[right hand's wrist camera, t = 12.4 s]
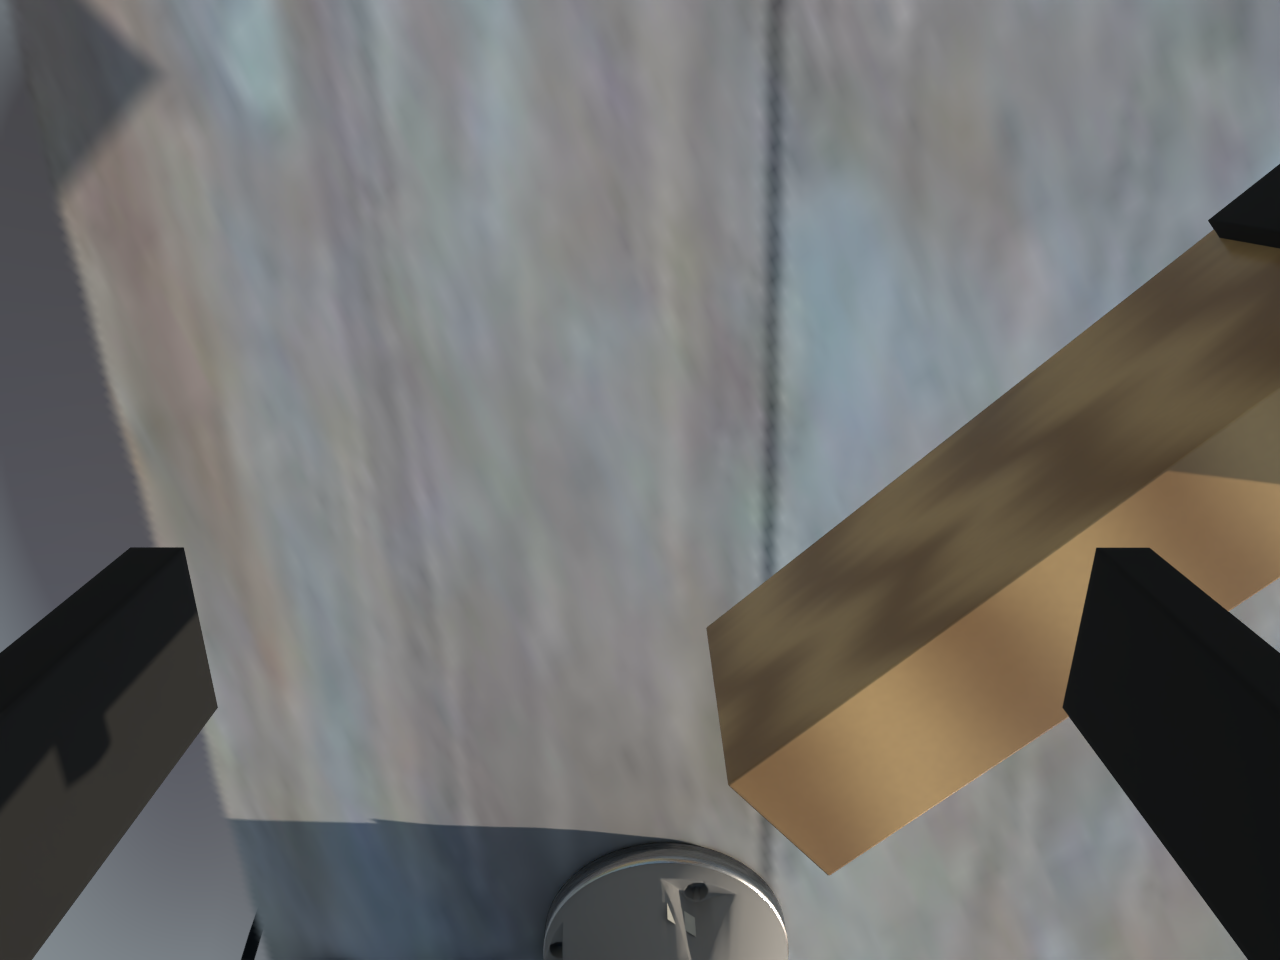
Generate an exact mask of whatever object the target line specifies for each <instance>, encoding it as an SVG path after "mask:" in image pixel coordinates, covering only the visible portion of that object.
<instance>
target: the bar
mask: <svg viewBox="0 0 1280 960" xmlns="http://www.w3.org/2000/svg"><path fill="white" fill-rule="evenodd" d="M1096 548H1151V549H1152V550H1153V551H1154V552H1156V553H1157V554H1158V555H1159V556H1161V557H1162V558H1163V559H1164V560H1165V561H1167V562H1168V563H1169V564H1170V565H1172V566H1173V567H1174V568H1175V569H1177V570H1178V571H1179V572H1180V573H1182V574H1183V575H1184V576H1185V577H1186V578H1188V579H1189V580H1190V581H1191V582H1193V583H1194V584H1195V585H1196V586H1198V587H1199V588H1200V589H1201V590H1202V591H1204V592H1205V593H1206V594H1207V595H1209V596H1210V597H1211V598H1212V599H1214V600H1215V601H1216V602H1217V603H1219V604H1220V605H1221V606H1222V607H1223V608H1225V609H1226V610H1227V611H1230V610H1231V609H1233V608H1234V607H1236V606H1237V605H1239V604H1240V603H1242V602H1243V601H1245V600H1246V599H1248V598H1249V597H1251V596H1252V595H1254V594H1255V593H1257V592H1258V591H1260V590H1262V589H1263V588H1265V587H1266V586H1268V585H1269V584H1271V583H1272V582H1274V581H1275V580H1277V579H1278V578H1280V249H1279V248H1274V247H1268V246H1263V245H1257V244H1252V243H1246V242H1240V241H1235V240H1229V239H1224V238H1219V236H1218V235H1217V233H1216V232H1215V230H1213V231H1211V232H1210V233H1209V234H1207V235H1206V236H1205V237H1204V238H1202V239H1201V240H1200V241H1199V242H1197V243H1196V244H1195V245H1193V246H1192V247H1191V248H1190V249H1188V250H1187V251H1186V252H1185V253H1183V254H1182V255H1181V256H1179V257H1178V258H1177V259H1176V260H1174V261H1173V262H1172V263H1171V264H1169V265H1168V266H1167V267H1165V268H1164V269H1163V270H1162V271H1160V272H1159V273H1158V274H1157V275H1155V276H1154V277H1153V278H1151V279H1150V280H1149V281H1148V282H1146V283H1145V284H1144V285H1143V286H1141V287H1140V288H1139V289H1137V290H1136V291H1135V292H1134V293H1132V294H1131V295H1130V296H1129V297H1127V298H1126V299H1125V300H1123V301H1122V302H1121V303H1120V304H1118V305H1117V306H1116V307H1115V308H1113V309H1112V310H1111V311H1109V312H1108V313H1107V314H1106V315H1104V316H1103V317H1102V318H1100V319H1099V320H1098V321H1097V322H1095V323H1094V324H1093V325H1092V326H1090V327H1089V328H1088V329H1086V330H1085V331H1084V332H1083V333H1081V334H1080V335H1079V336H1078V337H1076V338H1075V339H1074V340H1072V341H1071V342H1070V343H1069V344H1067V345H1066V346H1065V347H1064V348H1062V349H1061V350H1060V351H1058V352H1057V353H1056V354H1055V355H1053V356H1052V357H1051V358H1050V359H1048V360H1047V361H1046V362H1044V363H1043V364H1042V365H1041V366H1039V367H1038V368H1037V369H1036V370H1034V371H1033V372H1032V373H1030V374H1029V375H1028V376H1027V377H1025V378H1024V379H1023V380H1022V381H1020V382H1019V383H1018V384H1016V385H1015V386H1014V387H1013V388H1011V389H1010V390H1009V391H1008V392H1006V393H1005V394H1004V395H1002V396H1001V397H1000V398H999V399H997V400H996V401H995V402H993V403H992V404H991V405H990V406H988V407H987V408H986V409H985V410H983V411H982V412H981V413H979V414H978V415H977V416H976V417H974V418H973V419H972V420H971V421H969V422H968V423H967V424H965V425H964V426H963V427H962V428H960V429H959V430H958V431H957V432H955V433H954V434H953V435H951V436H950V437H949V438H948V439H946V440H945V441H944V442H943V443H941V444H940V445H939V446H937V447H936V448H935V449H934V450H932V451H931V452H930V453H929V454H927V455H926V456H925V457H923V458H922V459H921V460H920V461H918V462H917V463H916V464H915V465H913V466H912V467H911V468H909V469H908V470H907V471H906V472H904V473H903V474H902V475H901V476H899V477H898V478H897V479H895V480H894V481H893V482H892V483H890V484H889V485H888V486H886V487H885V488H884V489H883V490H881V491H880V492H879V493H878V494H876V495H875V496H874V497H872V498H871V499H870V500H869V501H867V502H866V503H865V504H864V505H862V506H861V507H860V508H858V509H857V510H856V511H855V512H853V513H852V514H851V515H850V516H848V517H847V518H846V519H844V520H843V521H842V522H841V523H839V524H838V525H837V526H836V527H834V528H833V529H832V530H830V531H829V532H828V533H827V534H825V535H824V536H823V537H822V538H820V539H819V540H818V541H816V542H815V543H814V544H813V545H811V546H810V547H809V548H808V549H806V550H805V551H804V552H802V553H801V554H800V555H799V556H797V557H796V558H795V559H794V560H792V561H791V562H790V563H788V564H787V565H786V566H785V567H783V568H782V569H781V570H779V571H778V572H777V573H776V574H774V575H773V576H772V577H771V578H769V579H768V580H767V581H765V582H764V583H763V584H762V585H760V586H759V587H758V588H757V589H755V590H754V591H753V592H751V593H750V594H749V595H748V596H746V597H745V598H744V599H743V600H741V601H740V602H739V603H737V604H736V605H735V606H734V607H732V608H731V609H730V610H729V611H727V612H726V613H725V614H723V615H722V616H721V617H720V618H718V619H717V620H716V621H715V622H713V623H712V624H711V625H709V626H708V627H707V636H708V643H709V650H710V657H711V664H712V672H713V679H714V686H715V693H716V700H717V707H718V715H719V722H720V729H721V736H722V743H723V750H724V758H725V765H726V772H727V779H728V785H729V786H730V787H731V788H732V789H733V790H734V791H735V792H737V793H738V794H739V795H740V796H741V797H742V798H743V799H744V800H745V801H746V802H748V803H749V804H750V805H751V806H752V807H753V808H754V809H755V810H756V811H758V812H759V813H760V814H761V815H762V816H763V817H764V818H765V819H766V820H768V821H769V822H770V823H771V824H772V825H773V826H774V827H775V828H776V829H777V830H779V831H780V832H781V833H782V834H783V835H784V836H785V837H786V838H787V839H789V840H790V841H791V842H792V843H793V844H794V845H795V846H796V847H797V848H798V849H800V850H801V851H802V852H803V853H804V854H805V855H806V856H807V857H808V858H810V859H811V860H812V861H813V862H814V863H815V864H816V865H817V866H818V867H820V868H821V869H822V870H823V871H824V872H825V873H826V874H827V875H831V874H832V873H834V872H835V871H837V870H839V869H840V868H842V867H843V866H845V865H846V864H848V863H849V862H851V861H852V860H854V859H855V858H857V857H858V856H860V855H861V854H863V853H864V852H866V851H867V850H869V849H870V848H872V847H873V846H875V845H876V844H878V843H879V842H881V841H882V840H884V839H885V838H887V837H888V836H890V835H891V834H893V833H894V832H896V831H897V830H899V829H900V828H902V827H903V826H905V825H906V824H908V823H910V822H911V821H913V820H914V819H916V818H917V817H919V816H920V815H922V814H923V813H925V812H926V811H928V810H929V809H931V808H932V807H934V806H935V805H937V804H938V803H940V802H941V801H943V800H944V799H946V798H947V797H949V796H950V795H952V794H953V793H955V792H956V791H958V790H959V789H961V788H962V787H964V786H965V785H967V784H968V783H970V782H971V781H973V780H974V779H976V778H977V777H979V776H981V775H982V774H984V773H985V772H987V771H988V770H990V769H991V768H993V767H994V766H996V765H997V764H999V763H1000V762H1002V761H1003V760H1005V759H1006V758H1008V757H1009V756H1011V755H1012V754H1014V753H1015V752H1017V751H1018V750H1020V749H1021V748H1023V747H1024V746H1026V745H1027V744H1029V743H1030V742H1032V741H1033V740H1035V739H1036V738H1038V737H1039V736H1041V735H1042V734H1044V733H1045V732H1047V731H1048V730H1050V729H1052V728H1053V727H1055V726H1056V725H1058V724H1059V723H1061V722H1062V721H1064V720H1065V719H1067V718H1068V717H1069V716H1068V715H1067V713H1066V712H1065V711H1064V709H1063V708H1062V707H1063V702H1064V697H1065V693H1066V688H1067V683H1068V678H1069V674H1070V669H1071V664H1072V660H1073V655H1074V650H1075V645H1076V641H1077V636H1078V631H1079V627H1080V622H1081V617H1082V612H1083V608H1084V603H1085V598H1086V594H1087V589H1088V584H1089V579H1090V575H1091V570H1092V565H1093V561H1094V556H1095V551H1096Z"/></svg>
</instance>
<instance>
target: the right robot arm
mask: <svg viewBox="0 0 1280 960" xmlns="http://www.w3.org/2000/svg"><path fill="white" fill-rule="evenodd" d="M217 708H218V707H217V702H216V697H215V693H214V688H213V683H212V678H211V674H210V669H209V664H208V660H207V655H206V650H205V645H204V641H203V636H202V631H201V627H200V622H199V617H198V612H197V608H196V603H195V598H194V594H193V589H192V584H191V579H190V575H189V570H188V565H187V561H186V556H185V551H184V548H129V549H128V550H127V551H126V552H124V553H123V554H122V555H121V556H119V557H118V558H117V559H116V560H115V561H113V562H112V563H111V564H110V565H108V566H107V567H106V568H105V569H103V570H102V571H101V572H100V573H99V574H97V575H96V576H95V577H94V578H92V579H91V580H90V581H89V582H87V583H86V584H85V585H84V586H82V587H81V588H80V589H79V590H78V591H76V592H75V593H74V594H73V595H71V596H70V597H69V598H68V599H66V600H65V601H64V602H63V603H62V604H60V605H59V606H58V607H57V608H55V609H54V610H53V611H52V612H50V613H49V614H48V615H47V616H45V617H44V618H43V619H42V620H40V621H39V622H38V623H37V624H36V625H34V626H33V627H32V628H31V629H29V630H28V631H27V632H26V633H25V634H23V635H22V636H21V637H20V638H18V639H17V640H16V641H15V642H13V643H12V644H11V645H10V646H8V647H7V648H6V649H5V650H4V651H2V652H1V653H0V960H32V959H33V957H34V956H35V955H36V953H37V952H38V951H39V949H40V948H41V947H42V945H43V944H44V943H45V941H46V940H47V938H48V937H49V936H50V934H51V933H52V932H53V930H54V929H55V928H56V926H57V925H58V924H59V922H60V921H61V919H62V918H63V917H64V915H65V914H66V913H67V911H68V910H69V909H70V907H71V906H72V905H73V903H74V902H75V900H76V899H77V898H78V896H79V895H80V894H81V892H82V891H83V890H84V888H85V887H86V886H87V884H88V883H89V881H90V880H91V879H92V877H93V876H94V875H95V873H96V872H97V870H98V869H99V868H100V867H101V865H102V864H103V862H104V861H105V860H106V858H107V857H108V856H109V854H110V853H111V852H112V850H113V849H114V847H115V846H116V845H117V843H118V842H119V841H120V839H121V838H122V837H123V835H124V834H125V833H126V831H127V830H128V829H129V827H130V826H131V824H132V823H133V822H134V820H135V819H136V818H137V816H138V815H139V814H140V812H141V811H142V810H143V808H144V807H145V806H146V804H147V803H148V801H149V800H150V799H151V797H152V796H153V795H154V793H155V792H156V790H157V789H158V788H159V787H160V785H161V784H162V782H163V781H164V780H165V778H166V777H167V776H168V774H169V773H170V772H171V770H172V769H173V768H174V766H175V765H176V763H177V762H178V761H179V759H180V758H181V757H182V755H183V754H184V753H185V751H186V750H187V749H188V747H189V746H190V744H191V743H192V742H193V740H194V739H195V738H196V736H197V735H198V734H199V732H200V731H201V730H202V728H203V727H204V725H205V724H206V723H207V721H208V720H209V719H210V717H211V716H212V715H213V713H214V712H215V711H216V709H217ZM1062 708H1063V709H1064V711H1065V712H1066V713H1067V715H1068V716H1069V717H1070V719H1071V720H1072V721H1073V723H1074V724H1075V725H1076V727H1077V728H1078V730H1079V731H1080V732H1081V734H1082V735H1083V736H1084V738H1085V739H1086V740H1087V742H1088V743H1089V744H1090V746H1091V747H1092V749H1093V750H1094V751H1095V753H1096V754H1097V755H1098V757H1099V758H1100V759H1101V761H1102V762H1103V763H1104V765H1105V766H1106V768H1107V769H1108V770H1109V772H1110V773H1111V774H1112V776H1113V777H1114V778H1115V780H1116V781H1117V782H1118V784H1119V785H1120V787H1121V788H1122V789H1123V791H1124V792H1125V793H1126V795H1127V796H1128V797H1129V799H1130V800H1131V801H1132V803H1133V804H1134V806H1135V807H1136V808H1137V810H1138V811H1139V812H1140V814H1141V815H1142V816H1143V818H1144V819H1145V820H1146V822H1147V823H1148V825H1149V826H1150V827H1151V829H1152V830H1153V831H1154V833H1155V834H1156V835H1157V837H1158V838H1159V839H1160V841H1161V842H1162V844H1163V845H1164V846H1165V848H1166V849H1167V850H1168V852H1169V853H1170V854H1171V856H1172V857H1173V858H1174V860H1175V861H1176V862H1177V864H1178V865H1179V867H1180V868H1181V869H1182V871H1183V872H1184V873H1185V875H1186V876H1187V877H1188V879H1189V880H1190V881H1191V883H1192V884H1193V886H1194V887H1195V888H1196V890H1197V891H1198V892H1199V894H1200V895H1201V896H1202V898H1203V899H1204V900H1205V902H1206V903H1207V905H1208V906H1209V907H1210V909H1211V910H1212V911H1213V913H1214V914H1215V915H1216V917H1217V918H1218V919H1219V921H1220V922H1221V924H1222V925H1223V926H1224V928H1225V929H1226V930H1227V932H1228V933H1229V934H1230V936H1231V937H1232V938H1233V940H1234V941H1235V943H1236V944H1237V945H1238V947H1239V948H1240V949H1241V951H1242V952H1243V953H1244V955H1245V956H1246V957H1247V959H1248V960H1280V653H1279V652H1278V651H1277V650H1275V649H1274V648H1273V647H1272V646H1270V645H1269V644H1268V643H1267V642H1265V641H1264V640H1263V639H1262V638H1260V637H1259V636H1258V635H1257V634H1256V633H1254V632H1253V631H1252V630H1251V629H1249V628H1248V627H1247V626H1246V625H1244V624H1243V623H1242V622H1241V621H1240V620H1238V619H1237V618H1236V617H1235V616H1233V615H1232V614H1231V613H1230V612H1228V611H1227V610H1226V609H1225V608H1223V607H1222V606H1221V605H1220V604H1219V603H1217V602H1216V601H1215V600H1214V599H1212V598H1211V597H1210V596H1209V595H1207V594H1206V593H1205V592H1204V591H1202V590H1201V589H1200V588H1199V587H1198V586H1196V585H1195V584H1194V583H1193V582H1191V581H1190V580H1189V579H1188V578H1186V577H1185V576H1184V575H1183V574H1182V573H1180V572H1179V571H1178V570H1177V569H1175V568H1174V567H1173V566H1172V565H1170V564H1169V563H1168V562H1167V561H1165V560H1164V559H1163V558H1162V557H1161V556H1159V555H1158V554H1157V553H1156V552H1154V551H1153V550H1152V549H1151V548H1096V551H1095V556H1094V561H1093V565H1092V570H1091V575H1090V579H1089V584H1088V589H1087V594H1086V598H1085V603H1084V608H1083V612H1082V617H1081V622H1080V627H1079V631H1078V636H1077V641H1076V645H1075V650H1074V655H1073V660H1072V664H1071V669H1070V674H1069V678H1068V683H1067V688H1066V693H1065V697H1064V702H1063V707H1062ZM260 939H261V931H260V929H259V924H258V922H257V919H256V914H255V917H254V920H253V923H252V926H251V929H250V932H249V935H248V938H247V941H246V944H245V948H244V951H243V954H242V958H241V960H255V956H256V953H257V949H258V946H259V942H260ZM543 960H788V940H787V934H786V929H785V924H784V918H783V914H782V911H781V907H780V905H779V903H778V901H777V898H776V897H775V895H774V893H773V892H772V890H771V889H770V888H769V886H768V885H767V884H766V883H765V882H764V881H763V880H762V879H761V878H760V877H759V876H758V875H757V874H756V873H755V872H754V871H752V870H751V869H750V868H748V867H747V866H745V865H744V864H742V863H741V862H739V861H737V860H735V859H733V858H732V857H729V856H727V855H725V854H722V853H720V852H717V851H714V850H711V849H707V848H703V847H699V846H693V845H687V844H677V843H657V844H646V845H639V846H634V847H629V848H625V849H622V850H619V851H615V852H613V853H610V854H608V855H605V856H603V857H601V858H599V859H597V860H595V861H593V862H591V863H590V864H588V865H587V866H585V867H584V868H582V869H581V870H580V871H578V872H577V873H576V874H575V875H573V876H572V877H571V878H570V879H569V880H568V881H567V882H566V883H565V885H564V886H563V887H562V888H561V890H560V891H559V892H558V894H557V895H556V897H555V899H554V901H553V903H552V905H551V907H550V910H549V913H548V917H547V921H546V928H545V937H544V946H543Z"/></svg>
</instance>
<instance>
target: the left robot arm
mask: <svg viewBox="0 0 1280 960" xmlns="http://www.w3.org/2000/svg"><path fill="white" fill-rule="evenodd" d="M1208 221H1209V223H1210V224H1211V226H1212V227H1213V229H1214V230H1215V232H1216V233H1217V235H1218V236H1219V238H1224V239H1229V240H1235V241H1240V242H1246V243H1252V244H1257V245H1263V246H1268V247H1274V248H1279V249H1280V164H1279V165H1278V166H1277V167H1275V168H1274V169H1273V170H1272V171H1270V172H1269V173H1268V174H1266V175H1265V176H1264V177H1263V178H1261V179H1260V180H1259V181H1258V182H1256V183H1255V184H1254V185H1252V186H1251V187H1250V188H1249V189H1247V190H1246V191H1245V192H1244V193H1242V194H1241V195H1240V196H1239V197H1237V198H1236V199H1235V200H1233V201H1232V202H1231V203H1230V204H1228V205H1227V206H1226V207H1225V208H1223V209H1222V210H1221V211H1219V212H1218V213H1217V214H1216V215H1214V216H1213V217H1212V218H1211V219H1209V220H1208Z"/></svg>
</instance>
